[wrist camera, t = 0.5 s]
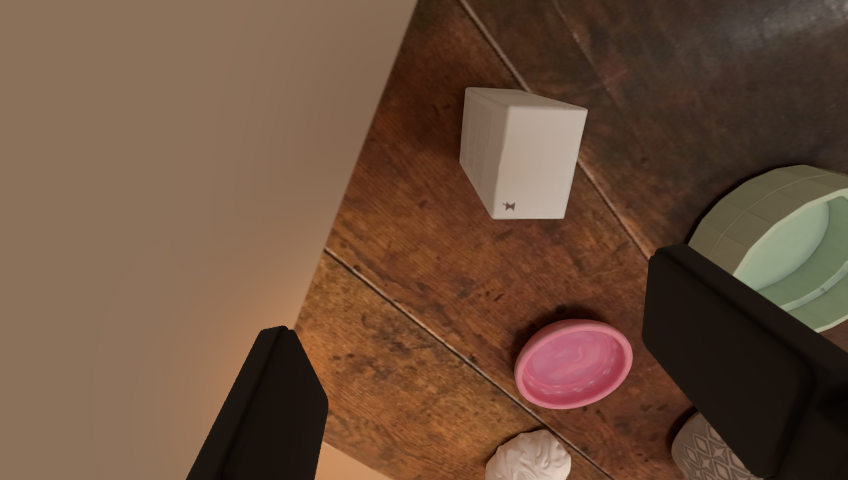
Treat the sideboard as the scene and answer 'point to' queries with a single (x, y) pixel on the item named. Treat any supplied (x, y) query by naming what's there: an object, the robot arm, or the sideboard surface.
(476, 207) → the sideboard surface
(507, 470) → the bust
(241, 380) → the robot arm
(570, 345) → the saucer
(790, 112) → the sideboard surface
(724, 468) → the planter
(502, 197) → the cosmetic box
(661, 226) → the sideboard surface
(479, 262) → the sideboard surface
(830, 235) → the bowl
